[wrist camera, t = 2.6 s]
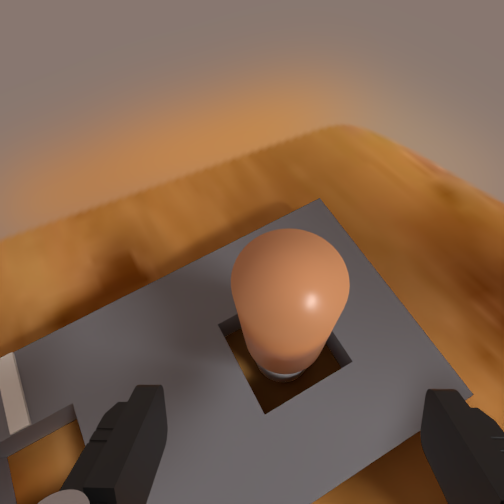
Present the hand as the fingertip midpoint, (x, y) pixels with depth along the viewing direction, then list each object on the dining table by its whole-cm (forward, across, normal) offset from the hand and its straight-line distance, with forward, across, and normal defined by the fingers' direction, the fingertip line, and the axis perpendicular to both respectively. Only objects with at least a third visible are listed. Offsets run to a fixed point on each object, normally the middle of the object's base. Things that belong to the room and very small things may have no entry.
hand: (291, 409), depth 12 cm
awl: (+11, 0, +5) cm, 12 cm away
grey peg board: (+8, +6, +8) cm, 13 cm away
